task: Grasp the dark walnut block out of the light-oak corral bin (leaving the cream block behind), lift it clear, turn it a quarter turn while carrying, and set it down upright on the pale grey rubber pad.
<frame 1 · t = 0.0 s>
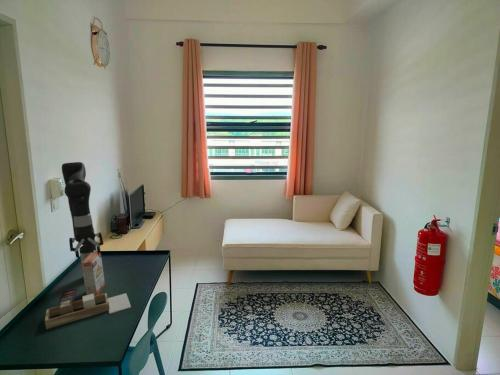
hand: (88, 255, 150), 29 cm above the table, fingers open, 8 cm apart
walnut block: (67, 316, 151), resting in bin
cracker box: (96, 292, 174), on the table
pad: (118, 303, 161), on the table
bin: (79, 313, 154), on the table
cream block: (90, 310, 156), resting in bin
smartphone: (68, 298, 170), on the table
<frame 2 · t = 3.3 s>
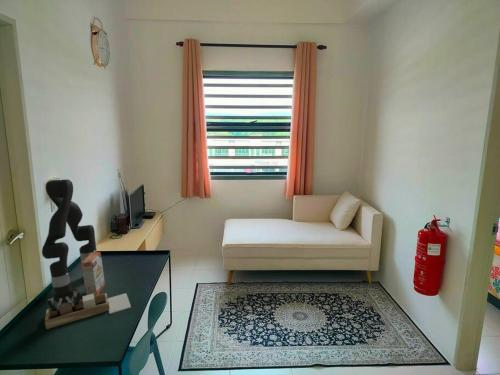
hand: (67, 314, 151), 1 cm above the table, fingers closed on walnut block, 5 cm apart
walnut block: (67, 316, 151), resting in bin, touching gripper
everything else where it was.
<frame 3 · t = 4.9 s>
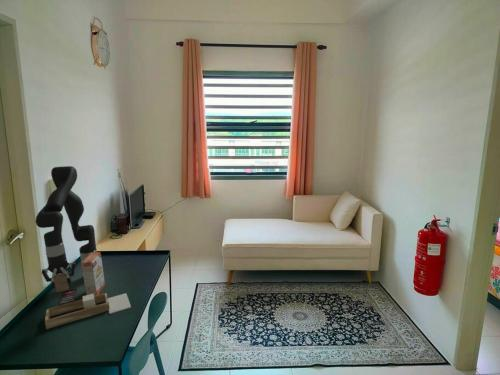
hand: (62, 286, 148), 16 cm above the table, fingers closed on walnut block, 5 cm apart
walnut block: (62, 288, 149), point 15 cm above the table, touching gripper
everything else where it was.
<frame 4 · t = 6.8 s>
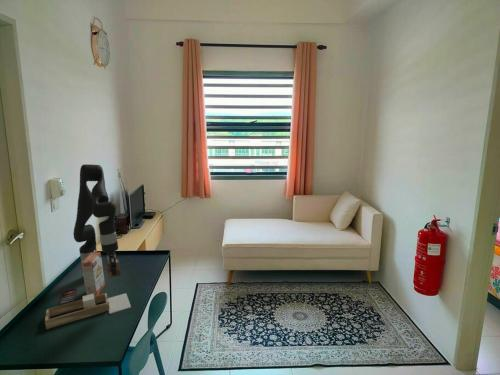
hand: (113, 272, 157), 17 cm above the table, fingers closed on walnut block, 5 cm apart
walnut block: (114, 274, 158), point 16 cm above the table, touching gripper
everything else where it was.
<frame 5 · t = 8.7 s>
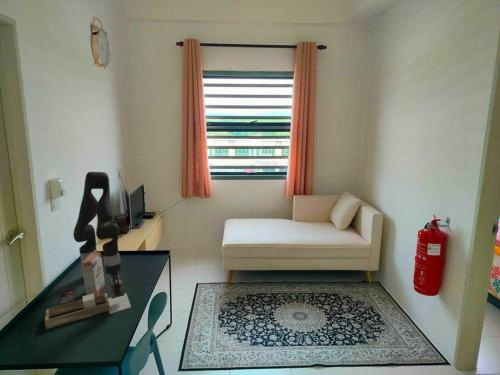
hand: (117, 293, 159), 6 cm above the table, fingers closed on walnut block, 5 cm apart
walnut block: (117, 295, 160), point 5 cm above the table, touching gripper
everything else where it was.
when the fingers open (3 cm above the table, at t = 10.3 s): walnut block stays where it is, resting on pad.
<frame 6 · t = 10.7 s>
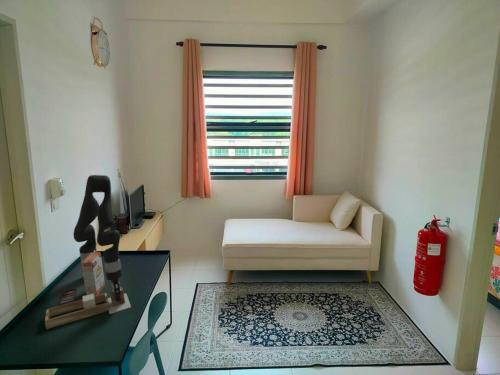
hand: (117, 297, 160), 3 cm above the table, fingers open, 8 cm apart
walnut block: (118, 302, 160), point 1 cm above the table, touching pad
everything else where it was.
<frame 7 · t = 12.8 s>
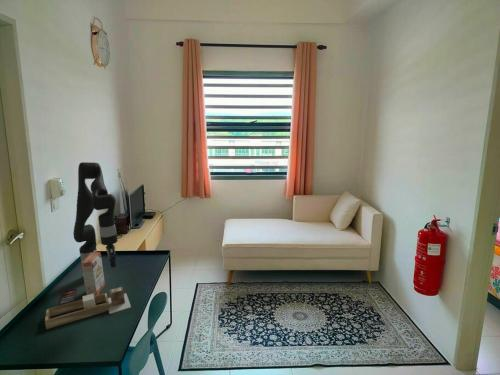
hand: (112, 264, 158), 21 cm above the table, fingers open, 8 cm apart
nothing on the table moved.
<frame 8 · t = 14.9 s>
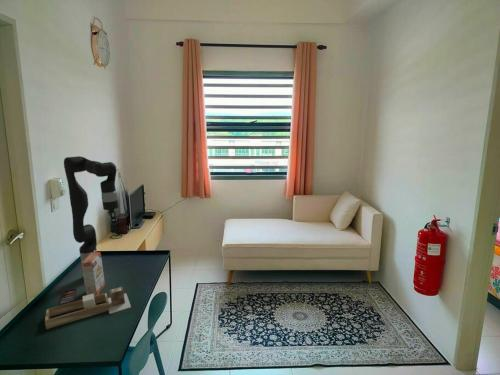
hand: (114, 228, 168), 36 cm above the table, fingers open, 8 cm apart
nothing on the table moved.
at the end: walnut block inside the target area (0.0 cm from its centre), point 0.6 cm above the table; walnut block tilted 0°; the gripper is holding nothing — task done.
